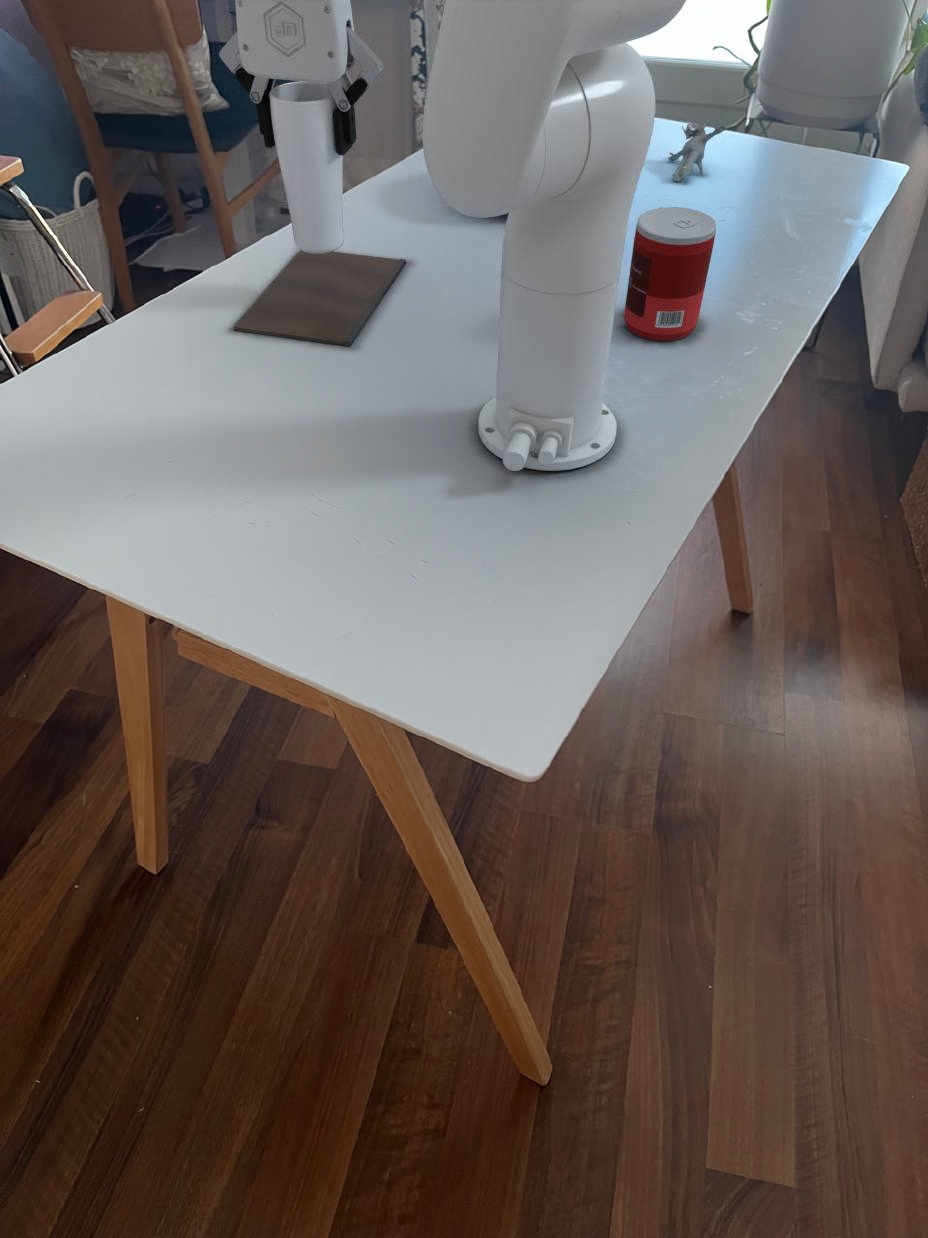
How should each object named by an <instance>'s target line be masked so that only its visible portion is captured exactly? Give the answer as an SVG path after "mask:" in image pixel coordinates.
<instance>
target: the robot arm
mask: <svg viewBox="0 0 928 1238" xmlns="http://www.w3.org/2000/svg"><path fill="white" fill-rule="evenodd" d="M686 3H687V0H445V3H444V6H443V13H442V17H441V22H440V27H439V31H438V35H437V36H438V37H437V41H436V45H435V50H434V55H433V59H432V65H431V69H430V74H429V79H428V84H427V89H426V93H425V94H426V95H425V101H424V107H423V116H422V129H421V131H422V134H421V135H422V146H423V147H422V150H423V157H424V161H425V166H426V170H427V173H428V176H429V180H430V181H431V183H432V186H433V187H434V189H435V191H436V192H437V194H438V195H439V197H440V198H441V199H442V201H444V203H445V204H446V205H447V206H449V207H450V208H451V209H453V210H454V211H456V212H458V213H459V214H462V215H463V216H468V217H473V218H478V219H479V218H480V219H481V218H482V219H486V218H494V217H500V216H503V215H507V214H508V215H507V218H506V223H505V228H504V233H503V239H502V250H501V265H500V288H499V289H500V290H499V291H500V293H499V315H498V316H499V318H498V342H497V343H498V345H497V368H496V369H497V371H496V393H495V394H496V395H495V396H494V397H492V398H490V400H488V401H487V402H486V403H485V405H484V406H483V407H482V408H481V410H480V412H479V415H478V426H477V428H478V436H479V438H480V441H481V442H482V443H483V445H484V446H485V447H486V449H487V450H489V451H490V452H491V453H492V454H493V455H494V456H496V457H498V458H500V459H502V464H503V465H504V467H505V468H506V469H507V470H509V471H513V472H518V471H519V472H520V471H521V470H522V469H524V468H525V469H529V470H536V471H545V472H546V471H549V472H550V471H551V472H559V471H568V470H569V471H570V470H573V469H577V468H582V467H584V466H588V465H591V464H593V463H595V462H596V461H598V460H600V459H602V458H603V457H604V456H605V455H606V454H608V453H609V452H610V451H611V449H612V447H613V446H614V444H615V441H616V436H617V429H618V428H617V427H618V423H617V420H616V417H615V415H614V413H613V412H612V410H611V409H610V408H609V407H608V406H607V405H606V404H605V403H604V398H605V397H604V396H605V389H606V381H607V375H608V374H607V373H608V368H609V367H608V366H609V359H610V351H611V345H612V344H611V343H612V337H613V330H614V322H615V313H616V305H617V299H618V292H619V284H620V275H621V271H622V263H623V256H624V249H625V242H626V236H627V229H628V225H629V221H630V214H631V209H632V206H633V202H634V197H635V194H636V190H637V187H638V183H639V180H640V177H641V175H642V171H643V168H644V164H645V161H646V158H647V157H648V156H647V155H648V152H649V149H650V145H651V141H652V137H653V132H654V127H655V117H656V94H655V88H654V87H655V86H654V83H653V79H652V75H651V73H650V70H649V68H648V66H647V64H646V62H645V61H644V59H643V58H642V56H641V55H640V54H639V52H638V51H637V50H636V49H635V48H634V47H633V46H631V45H630V44H629V43H628V42H633V41H636V40H638V39H642V38H645V37H647V36H650V35H652V34H654V33H656V32H659V31H660V30H661V29H663V28H664V27H666V26H667V25H668V24H670V23H671V21H672V20H674V18H675V17H676V16H677V15H678V14H679V13H680V11H681V10H682V9H683V7H684V6H685V4H686ZM352 11H353V10H352V4H351V0H235V15H236V16H235V17H236V28H237V29H236V31H235V32H234V34H233V35H232V36H231V37H230V38H229V40H228V41H227V42H226V43H225V45H223V47H222V48H221V49H220V50H219V53H218V55H219V58H220V60H221V61H222V62H223V63H224V64H225V66H226V67H227V68H228V70H229V71H230V72H231V73H232V74H234V77H235V79H236V82H238V83H239V84H240V85H241V86H242V87H243V88H244V90H245V91H246V92H247V93H248V94H249V98H250V100H251V101H252V103H254V104H255V105H256V111H257V119H258V120H257V121H258V126H259V127H258V128H259V133H260V135H261V136H263V143H264V147H265V148H267V149H268V148H269V149H271V148H274V147H275V140H274V134H273V127H272V120H271V110H270V97H269V93H270V91H271V90H272V89H273V88H275V83H276V81H277V80H283V81H292V82H300V81H304V82H316V83H326V84H327V86H328V88H329V90H330V92H331V94H332V96H333V98H334V100H335V102H336V105H337V109H336V110H335V111H334V112H333V123H334V135H335V147H336V153H338V155H343V156H345V155H346V154H347V153H348V152H349V151H350V149H352V147H353V145H354V144H355V143H356V140H357V125H356V114H355V113H356V111H355V104H356V103H357V102H358V101H359V100H360V98H362V96H363V95H364V94H365V93H366V92H367V91H368V89H370V87H371V85H372V83H374V81H375V80H376V79H377V77H378V76H379V74H380V73H381V72H382V71H383V69H384V63H383V60H381V58H380V57H379V56H378V55H377V54H376V53H375V52H374V51H373V50H372V49H371V48H370V47H369V45H367V43H366V42H365V41H364V40H363V39H362V37H360V36H359V35H358V34H357V33H356V32H355V28H354V26H355V25H354V20H353V19H354V18H353V12H352ZM356 61H357V63H358V64H359V65H360V66H361V72H360V74H359V75H358V77H356V79H355V80H354V81H352V79H351V76H350V74H349V72H348V71H349V70H351V69H352V68H353V67H354V66H355V64H356Z"/></svg>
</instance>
